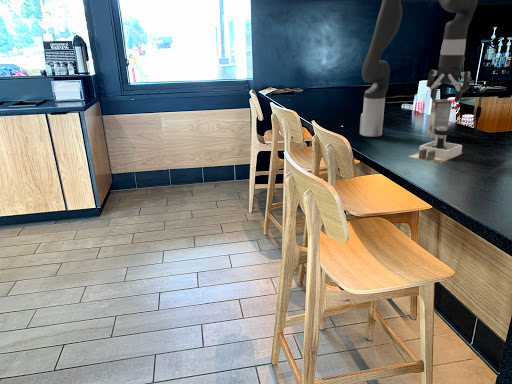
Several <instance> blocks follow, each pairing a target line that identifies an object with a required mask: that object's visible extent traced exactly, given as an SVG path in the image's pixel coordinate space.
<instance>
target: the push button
mask: <svg viewBox="0 0 512 384" xmlns="http://www.w3.org/2000/svg"><path fill="white" fill-rule="evenodd" d="M434 131H435V132H434V133H435V134H436V138H434V141H435V145H434V146H432V148H437V149H443V150H448V149H447V147H445V146H446V145H445V142H446V140H447V136H448V135H449V134H450V131H451V130H450V129H449V126H448V127H445V126H438V127H437V128H436V129H434ZM438 136H439V137H438ZM443 136H444V138H443Z"/></svg>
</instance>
